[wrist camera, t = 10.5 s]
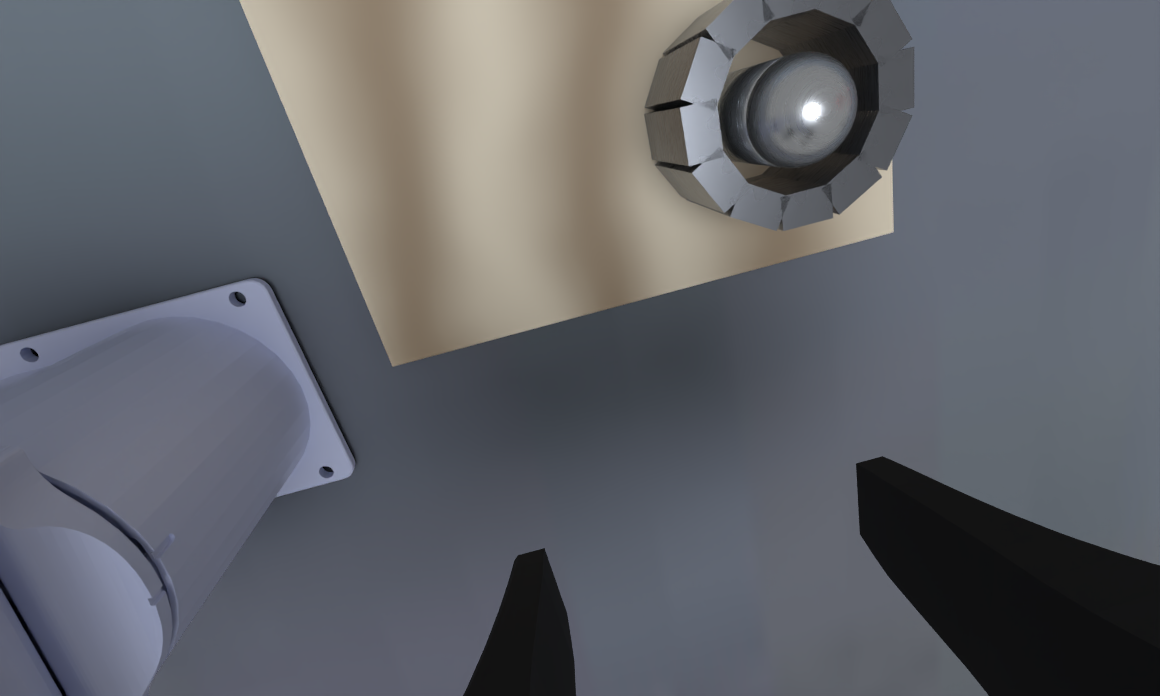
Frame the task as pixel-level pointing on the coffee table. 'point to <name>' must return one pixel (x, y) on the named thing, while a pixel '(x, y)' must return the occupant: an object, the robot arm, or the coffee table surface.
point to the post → (787, 110)
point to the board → (508, 161)
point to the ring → (789, 24)
